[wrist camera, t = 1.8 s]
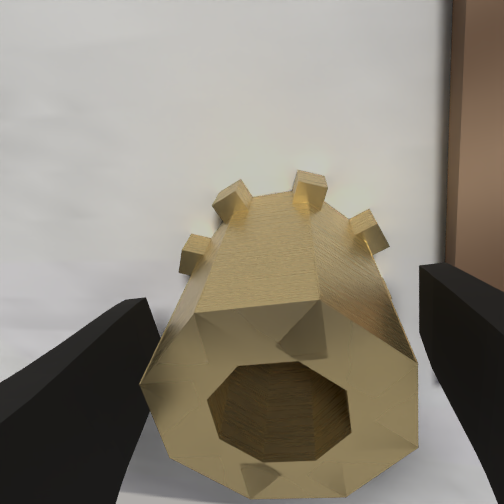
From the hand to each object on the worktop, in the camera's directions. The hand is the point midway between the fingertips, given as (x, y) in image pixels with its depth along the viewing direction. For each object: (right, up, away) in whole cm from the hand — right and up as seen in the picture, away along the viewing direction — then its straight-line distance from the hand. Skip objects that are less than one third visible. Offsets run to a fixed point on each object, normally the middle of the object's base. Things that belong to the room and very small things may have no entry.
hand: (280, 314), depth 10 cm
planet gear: (0, +1, +2) cm, 3 cm away
